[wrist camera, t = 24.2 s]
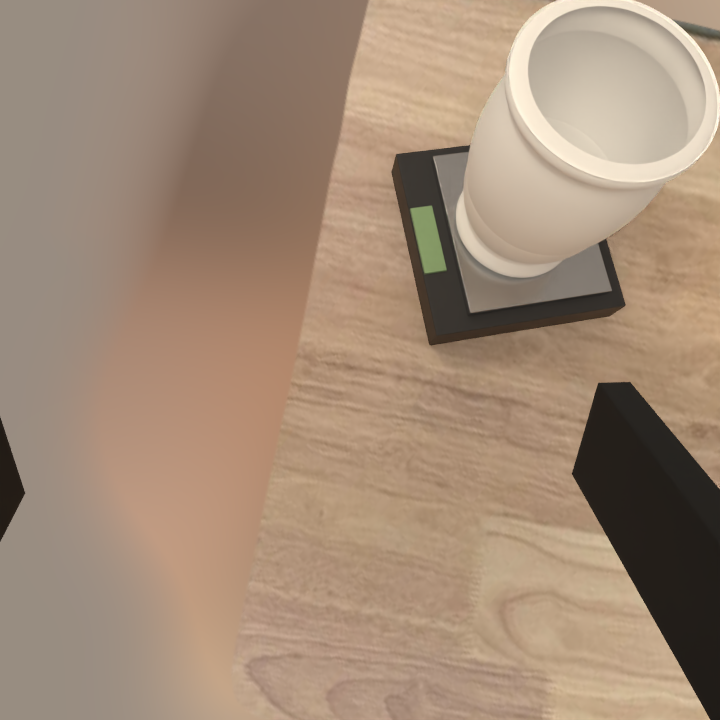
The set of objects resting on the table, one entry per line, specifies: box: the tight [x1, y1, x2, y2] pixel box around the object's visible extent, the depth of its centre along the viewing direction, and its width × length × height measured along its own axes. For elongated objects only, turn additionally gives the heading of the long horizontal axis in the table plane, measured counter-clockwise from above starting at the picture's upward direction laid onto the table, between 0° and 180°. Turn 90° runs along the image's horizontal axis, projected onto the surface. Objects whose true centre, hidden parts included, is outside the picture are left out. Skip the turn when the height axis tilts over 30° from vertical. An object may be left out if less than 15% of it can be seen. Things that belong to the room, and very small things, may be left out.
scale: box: [392, 145, 625, 345], centre depth 46 cm, size 14×14×3 cm
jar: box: [456, 0, 720, 278], centre depth 37 cm, size 11×10×15 cm
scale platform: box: [431, 152, 612, 316], centre depth 44 cm, size 12×10×1 cm
